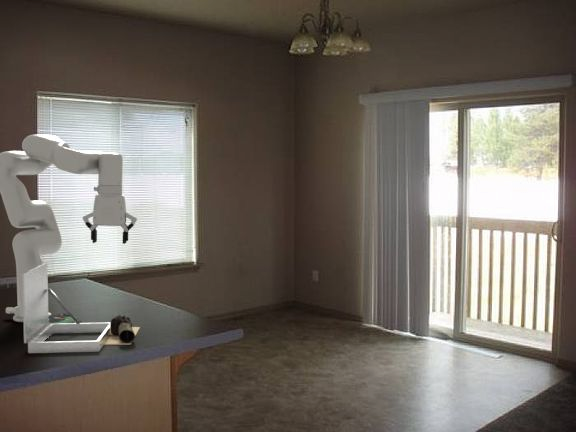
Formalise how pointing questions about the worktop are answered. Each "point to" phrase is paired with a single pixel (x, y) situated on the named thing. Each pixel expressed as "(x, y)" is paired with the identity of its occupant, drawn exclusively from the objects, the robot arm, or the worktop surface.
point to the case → (41, 328)
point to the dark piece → (122, 329)
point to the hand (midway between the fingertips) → (109, 242)
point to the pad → (115, 338)
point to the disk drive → (61, 318)
